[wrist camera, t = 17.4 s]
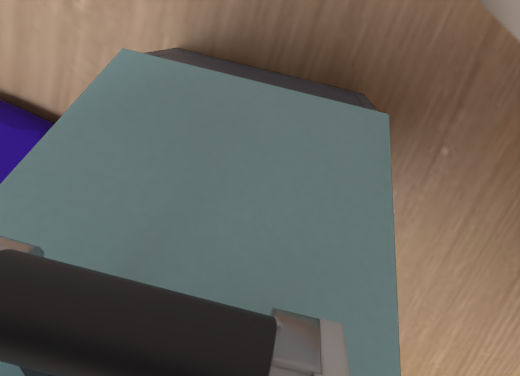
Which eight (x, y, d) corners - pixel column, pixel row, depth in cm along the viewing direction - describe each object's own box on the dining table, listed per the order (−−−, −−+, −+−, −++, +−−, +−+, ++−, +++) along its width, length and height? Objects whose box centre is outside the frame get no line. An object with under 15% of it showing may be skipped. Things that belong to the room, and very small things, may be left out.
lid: (396, 618, 8) (557, 638, 5) (-211, 454, 9) (-463, 363, 5) (383, 127, 20) (428, 30, 16) (123, 63, 20) (115, -47, 17)
